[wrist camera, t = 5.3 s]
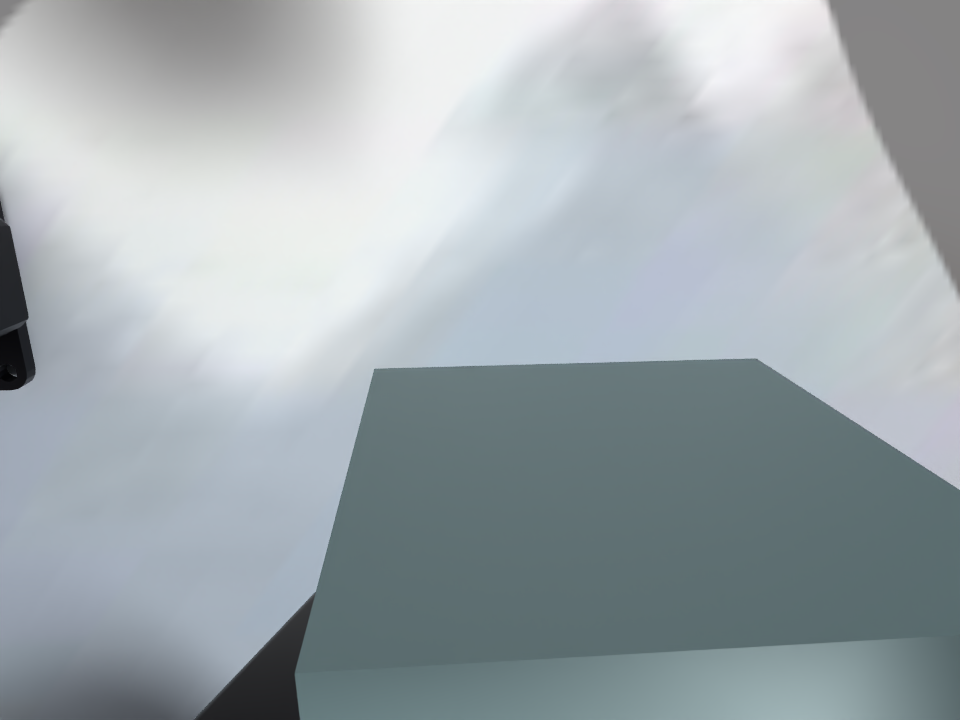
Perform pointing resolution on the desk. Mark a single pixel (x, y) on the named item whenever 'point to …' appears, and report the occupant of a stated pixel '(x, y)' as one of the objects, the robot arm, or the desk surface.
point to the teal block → (630, 554)
